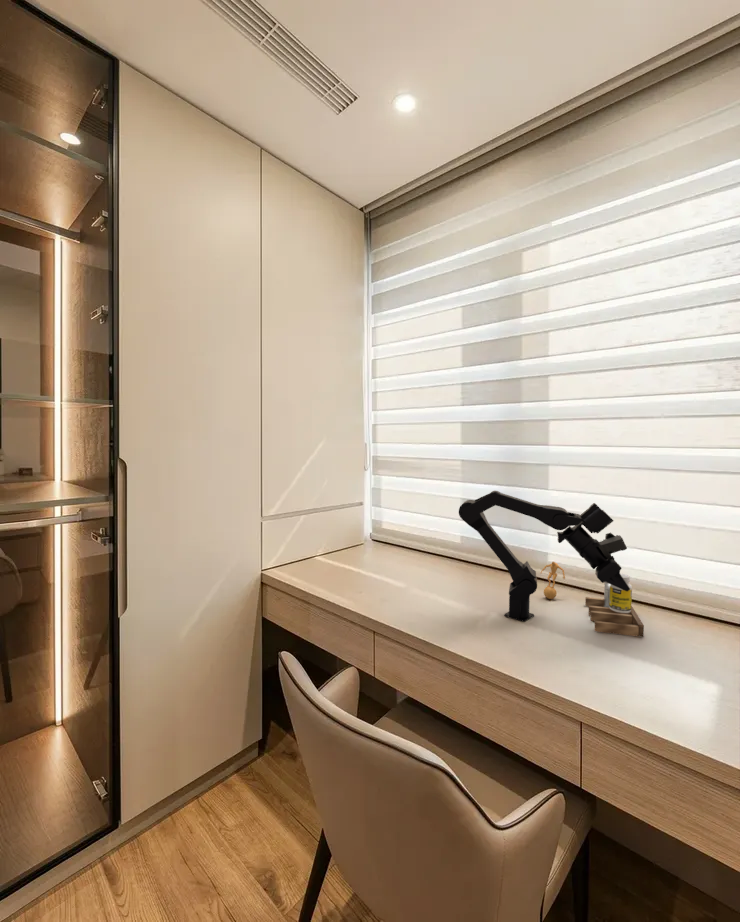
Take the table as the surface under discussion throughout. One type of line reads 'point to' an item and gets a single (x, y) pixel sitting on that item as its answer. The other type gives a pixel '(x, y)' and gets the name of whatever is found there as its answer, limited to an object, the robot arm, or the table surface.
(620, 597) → the supplement bottle
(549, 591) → the figurine
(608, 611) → the wooden rack
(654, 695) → the table surface
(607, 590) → the grey can
